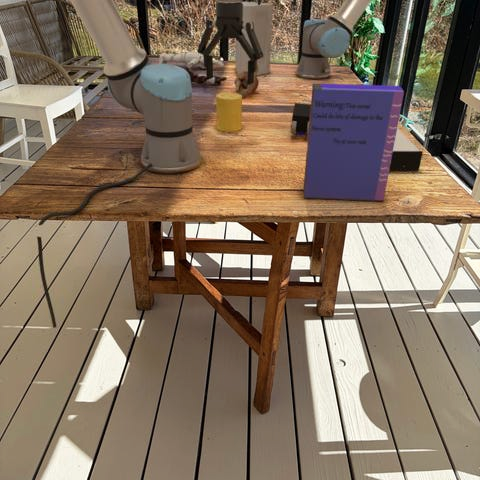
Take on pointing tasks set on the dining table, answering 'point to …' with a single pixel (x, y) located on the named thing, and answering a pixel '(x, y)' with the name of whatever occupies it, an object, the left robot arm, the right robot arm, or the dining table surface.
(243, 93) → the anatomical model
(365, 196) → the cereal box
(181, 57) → the toy
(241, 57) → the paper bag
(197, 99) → the dining table surface
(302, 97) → the dining table surface
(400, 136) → the disc drive
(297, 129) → the figurine character
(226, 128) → the tin
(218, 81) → the figurine
